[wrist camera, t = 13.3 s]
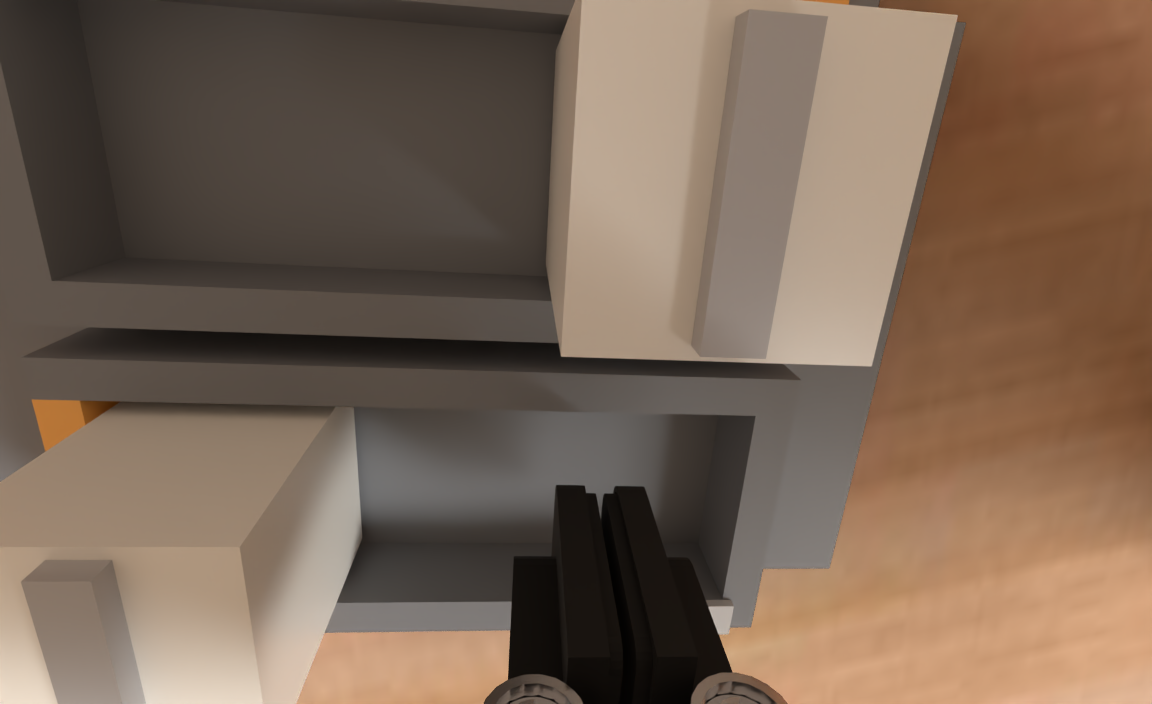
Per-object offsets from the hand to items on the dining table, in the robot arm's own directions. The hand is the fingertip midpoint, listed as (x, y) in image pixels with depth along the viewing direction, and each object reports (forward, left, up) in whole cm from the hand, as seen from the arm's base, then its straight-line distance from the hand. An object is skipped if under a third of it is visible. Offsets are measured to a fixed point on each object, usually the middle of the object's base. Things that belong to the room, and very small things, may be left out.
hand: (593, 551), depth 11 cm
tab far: (+7, 0, -3) cm, 8 cm away
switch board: (+3, -3, -4) cm, 6 cm away
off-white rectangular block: (-1, -7, -3) cm, 7 cm away
